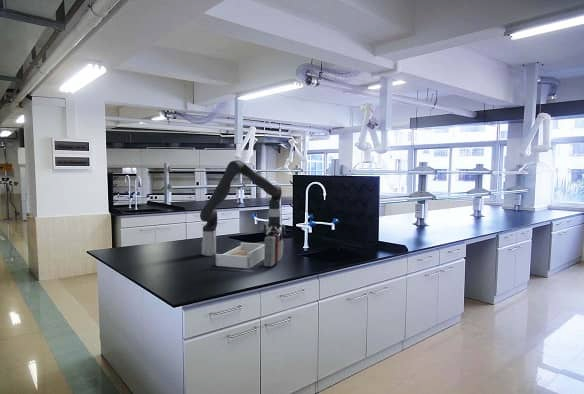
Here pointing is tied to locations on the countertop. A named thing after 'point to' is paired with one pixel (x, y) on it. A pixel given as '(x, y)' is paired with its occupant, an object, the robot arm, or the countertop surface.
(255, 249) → the white open box
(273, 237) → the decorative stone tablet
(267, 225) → the robot arm
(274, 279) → the countertop surface
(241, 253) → the top offcut
